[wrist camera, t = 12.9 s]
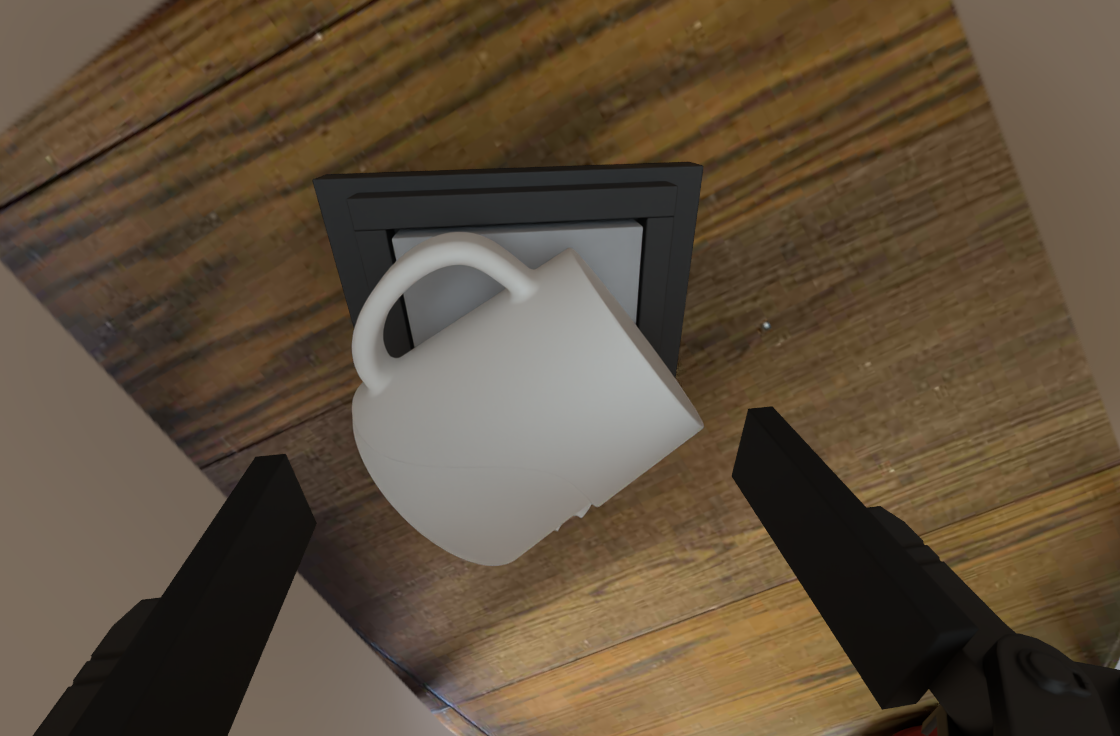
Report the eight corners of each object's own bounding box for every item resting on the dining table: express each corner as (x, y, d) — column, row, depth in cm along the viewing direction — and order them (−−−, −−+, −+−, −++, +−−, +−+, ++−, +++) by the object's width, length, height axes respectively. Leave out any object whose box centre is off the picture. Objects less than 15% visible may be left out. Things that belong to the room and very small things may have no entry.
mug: (668, 365, 22) (746, 483, 15) (523, 466, 24) (532, 611, 17) (501, 153, 16) (503, 185, 9) (332, 311, 18) (232, 431, 11)
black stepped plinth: (394, 434, 26) (382, 469, 23) (325, 174, 19) (297, 184, 16) (660, 410, 27) (677, 442, 25) (690, 161, 20) (717, 169, 18)
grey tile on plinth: (437, 421, 24) (433, 439, 22) (399, 229, 18) (391, 238, 17) (621, 405, 24) (628, 422, 23) (633, 218, 19) (643, 226, 18)
